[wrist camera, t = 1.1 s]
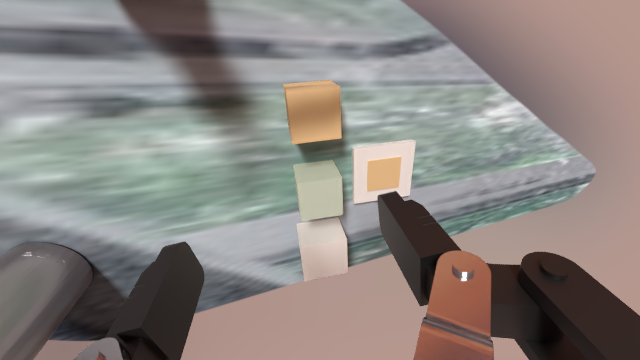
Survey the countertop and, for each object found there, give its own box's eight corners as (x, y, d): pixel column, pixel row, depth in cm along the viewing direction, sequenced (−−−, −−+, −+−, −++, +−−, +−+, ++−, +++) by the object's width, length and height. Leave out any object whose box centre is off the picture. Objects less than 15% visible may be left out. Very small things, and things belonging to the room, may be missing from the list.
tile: (406, 192, 37) (410, 196, 36) (352, 200, 36) (354, 204, 35) (412, 139, 33) (416, 141, 32) (351, 146, 32) (354, 149, 32)
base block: (339, 248, 40) (347, 273, 36) (300, 254, 39) (304, 281, 35) (338, 216, 37) (347, 239, 33) (296, 223, 37) (299, 247, 32)
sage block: (334, 193, 35) (343, 214, 31) (297, 198, 35) (301, 221, 30) (332, 159, 33) (342, 177, 29) (293, 164, 32) (296, 183, 28)
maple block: (331, 124, 31) (341, 138, 26) (288, 129, 30) (292, 144, 26) (329, 79, 28) (339, 86, 24) (283, 84, 28) (285, 91, 23)
